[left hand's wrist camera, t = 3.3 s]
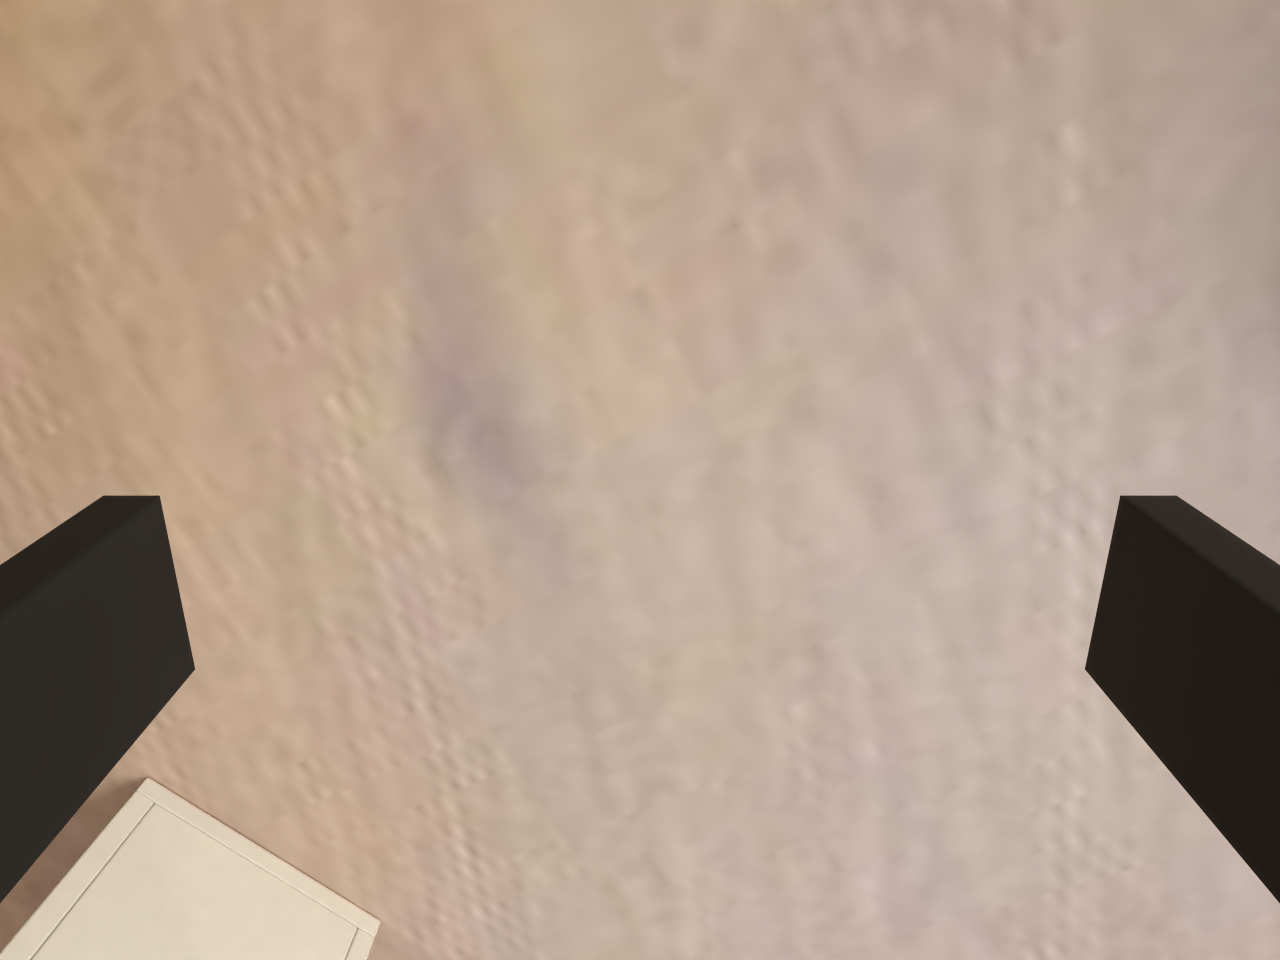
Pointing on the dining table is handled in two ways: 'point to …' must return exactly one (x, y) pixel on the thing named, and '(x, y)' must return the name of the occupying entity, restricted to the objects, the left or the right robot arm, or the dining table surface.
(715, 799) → the dining table surface
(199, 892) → the chest
